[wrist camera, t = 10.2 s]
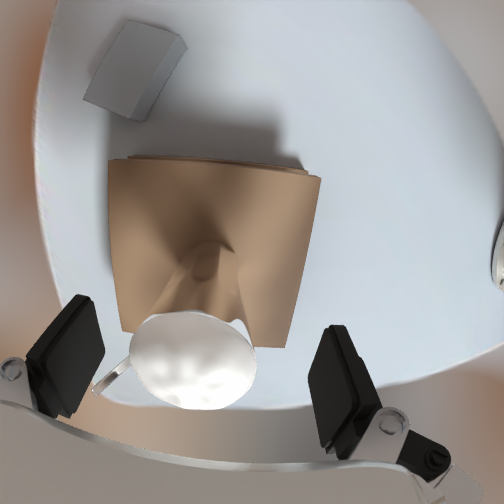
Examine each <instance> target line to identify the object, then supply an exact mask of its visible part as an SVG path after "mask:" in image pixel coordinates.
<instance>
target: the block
mask: <svg viewBox="0 0 504 504" xmlns="http://www.w3.org/2000/svg"><path fill="white" fill-rule="evenodd" d="M186 50H187V46H186V45H185V43H184V42H183V40H182V39H181V37H180V35H178V34H175V33H172V32H169V31H166V30H163V29H160V28H156V27H153V26H150V25H146V24H142V23H139V22H135V21H131V20H128V21H127V22H126V24H125V25H124V27H123V28H122V30H121V31H120V33H119V34H118V36H117V37H116V39H115V40H114V42H113V44H112V45H111V47H110V48H109V50H108V52H107V54H106V55H105V57H104V59H103V60H102V62H101V64H100V66H99V68H98V70H97V71H96V73H95V75H94V77H93V79H92V81H91V83H90V85H89V87H88V89H87V91H86V93H85V95H84V98H83V100H85V101H87V102H90V103H92V104H95V105H97V106H100V107H102V108H104V109H107V110H109V111H112V112H114V113H116V114H119V115H121V116H123V117H125V118H128V119H132V120H139V121H145V119H146V117H147V115H148V113H149V111H150V110H151V108H152V106H153V104H154V102H155V100H156V99H157V97H158V95H159V93H160V91H161V90H162V88H163V86H164V85H165V83H166V81H167V79H168V78H169V76H170V75H171V73H172V71H173V70H174V68H175V67H176V65H177V63H178V62H179V60H180V59H181V57H182V56H183V54H184V53H185V51H186Z"/></svg>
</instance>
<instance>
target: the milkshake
mask: <svg viewBox="0 0 504 504" xmlns="http://www.w3.org/2000/svg"><path fill="white" fill-rule="evenodd" d="M129 354H130V355H129V356H128V357H126V358H125V359H124V360H123V361H122V362H121V363H120V364H119V365H117V366H116V367H115V368H114V369H113V370H112V371H111V372H109V373H108V374H107V375H106V376H105V377H104V378H103V379H102V380H100V381H99V382H98V383H97V384H96V385H95V386H94V387H93V388H92V392H93V394H94V396H95V397H96V396H98V395H99V394H100V393H101V392H102V391H103V390H104V389H105V388H106V387H107V386H109V385H110V384H111V383H112V382H113V381H114V380H115V379H116V378H117V377H118V376H119V375H120V374H122V373H123V372H124V371H125V370H126V369H127V368H128V367H129V366H130V365H131V364H132V367H133V369H134V371H135V373H136V375H137V377H138V378H139V380H140V381H141V383H142V384H143V385H144V386H145V388H146V389H147V390H148V391H149V392H150V393H152V394H153V395H155V396H157V397H158V398H160V399H162V400H164V401H166V402H168V403H171V404H173V405H176V406H178V407H181V408H185V409H203V410H214V409H220V408H223V407H225V406H228V405H229V404H231V403H233V402H235V401H236V400H238V399H239V398H240V397H241V396H243V395H244V394H245V393H246V392H247V391H248V390H249V388H250V387H251V386H252V384H253V381H254V379H255V376H256V371H257V361H256V356H255V351H254V346H253V342H252V337H251V332H250V328H249V323H248V319H247V315H246V312H245V305H244V299H243V292H242V285H241V278H240V272H239V267H238V263H237V259H236V255H235V253H234V252H232V251H231V250H230V249H229V248H227V247H226V246H225V245H224V244H223V243H220V242H208V241H203V242H201V243H200V244H198V245H196V246H194V247H193V248H191V249H189V250H188V252H187V253H186V255H185V257H184V258H183V260H182V261H181V263H180V264H179V266H178V267H177V269H176V271H175V272H174V274H173V275H172V277H171V279H170V280H169V282H168V283H167V285H166V287H165V288H164V290H163V292H162V293H161V295H160V296H159V298H158V299H157V301H156V302H155V304H154V305H153V307H152V308H151V310H150V311H149V313H148V314H147V316H146V317H145V319H144V320H143V322H142V323H141V325H140V326H139V328H138V329H137V331H136V332H135V333H134V335H133V337H132V339H131V342H130V347H129Z"/></svg>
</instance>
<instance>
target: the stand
mask: <svg viewBox="0 0 504 504" xmlns="http://www.w3.org/2000/svg"><path fill="white" fill-rule="evenodd" d="M320 183H321V178H320V177H318V176H315V175H309V174H308V171H306V170H302V169H296V168H289V167H282V166H275V165H267V164H259V163H250V162H241V161H231V160H219V159H207V158H192V157H173V156H135V155H133V156H128V159H114V160H110V161H108V213H109V233H110V247H111V258H112V268H113V276H114V284H115V292H116V298H117V305H118V311H119V317H120V322H121V328H122V331H124V332H130V333H135V332H136V331H137V329H138V328H139V326H140V325H141V323H142V322H143V320H144V319H145V317H146V316H147V314H148V313H149V311H150V310H151V308H152V307H153V305H154V304H155V302H156V301H157V299H158V298H159V296H160V295H161V293H162V292H163V290H164V288H165V287H166V285H167V283H168V282H169V280H170V279H171V277H172V275H173V274H174V272H175V271H176V269H177V267H178V266H179V264H180V263H181V261H182V260H183V258H184V257H185V255H186V253H187V252H188V250H189V249H191V248H193V247H194V246H196V245H198V244H200V243H201V242H203V241H208V242H220V243H223V244H224V245H225V246H226V247H227V248H229V249H230V250H231V251H232V252H234V253H235V255H236V259H237V263H238V267H239V272H240V278H241V285H242V292H243V299H244V305H245V312H246V315H247V319H248V323H249V328H250V332H251V337H252V342H253V346H254V347H273V348H285V345H286V341H287V337H288V333H289V329H290V325H291V321H292V317H293V313H294V309H295V305H296V301H297V296H298V292H299V288H300V283H301V279H302V274H303V270H304V265H305V261H306V256H307V251H308V246H309V242H310V237H311V232H312V226H313V221H314V216H315V211H316V205H317V200H318V194H319V189H320Z"/></svg>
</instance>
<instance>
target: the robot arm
mask: <svg viewBox="0 0 504 504" xmlns="http://www.w3.org/2000/svg"><path fill="white" fill-rule="evenodd" d="M492 277H493V282H494V284H495V286H496V287H497V288H498V289H499V290H500V291H502V292H504V222H503V224H502V227H501V229H500V232H499V235H498V238H497V241H496V245H495V249H494V255H493V261H492ZM104 355H105V347H104V343H103V339H102V336H101V332H100V328H99V324H98V319H97V315H96V310H95V306H94V302H93V301H91V299H90V297H88V296H84V295H79V294H77V295H75V296H74V297H73V298H72V300H71V301H70V302H69V303H68V304H67V305H66V306H65V308H64V309H63V310H62V311H61V312H60V313H59V315H58V316H57V317H56V318H55V319H54V320H53V322H52V323H51V324H50V325H49V327H48V328H47V329H46V330H45V331H44V333H43V334H42V335H41V336H40V338H39V339H38V340H37V342H36V343H35V344H34V346H33V347H32V348H31V349H30V351H29V352H28V353H27V355H26V358H27V359H26V361H25V362H24V360H23V359H21V358H19V357H10V358H7V359H6V360H4V361H3V362H2V363H1V364H0V504H479V503H480V502H481V500H482V497H483V489H482V487H481V485H480V484H479V483H478V482H476V481H475V480H474V479H473V478H472V477H471V476H470V475H469V474H467V473H466V472H465V471H464V470H463V469H461V468H460V467H459V466H458V465H457V464H456V463H454V464H453V465H452V464H451V456H450V454H449V451H448V450H447V449H446V448H445V447H444V446H442V445H440V444H438V443H436V442H434V441H432V440H430V439H428V438H426V437H424V436H422V435H420V434H418V433H416V432H414V431H412V430H410V429H409V426H410V424H409V419H408V418H407V416H406V415H405V414H404V413H403V412H402V411H401V410H399V409H397V408H394V407H385V408H383V407H382V404H381V402H380V399H379V397H378V395H377V392H376V389H375V387H374V385H373V382H372V380H371V378H370V375H369V373H368V370H367V368H366V366H365V364H364V361H363V360H362V358H361V357H359V356H358V354H357V351H356V349H355V347H354V344H353V342H352V340H351V338H350V335H349V333H348V331H347V329H346V327H345V326H344V325H330V326H329V328H325V330H324V332H323V335H322V338H321V341H320V343H319V346H318V349H317V352H316V355H315V357H314V360H313V363H312V365H311V368H310V371H309V373H308V384H309V389H310V393H311V398H312V403H313V408H314V413H315V418H316V423H317V428H318V433H319V439H320V443H321V447H322V448H325V449H326V454H332V453H336V455H337V458H338V460H337V461H324V462H310V463H282V464H258V463H235V462H222V461H212V460H202V459H195V458H188V457H182V456H176V455H170V454H165V453H160V452H156V451H151V450H146V449H142V448H138V447H134V446H131V445H127V444H123V443H120V442H116V441H113V440H110V439H106V438H103V437H100V436H97V435H94V434H91V433H88V432H86V431H83V430H81V429H78V428H75V427H73V426H70V425H68V424H65V423H63V422H60V421H58V420H57V416H58V414H60V415H62V416H64V417H66V418H69V419H70V417H71V415H72V413H75V412H76V411H77V409H78V407H79V405H80V402H81V400H82V398H83V396H84V394H85V392H86V390H87V388H88V386H89V384H90V382H91V380H92V378H93V376H94V374H95V372H96V371H97V369H98V367H99V365H100V363H101V361H102V359H103V357H104Z"/></svg>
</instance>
